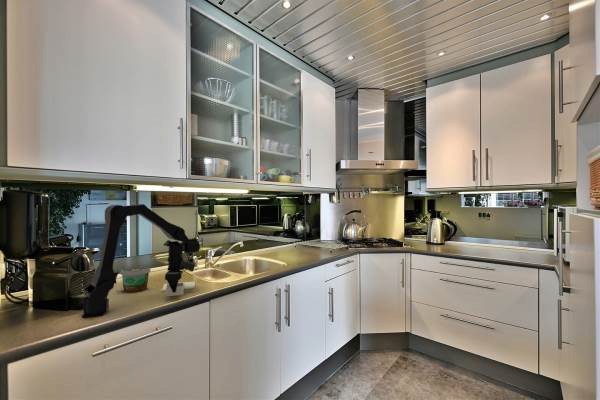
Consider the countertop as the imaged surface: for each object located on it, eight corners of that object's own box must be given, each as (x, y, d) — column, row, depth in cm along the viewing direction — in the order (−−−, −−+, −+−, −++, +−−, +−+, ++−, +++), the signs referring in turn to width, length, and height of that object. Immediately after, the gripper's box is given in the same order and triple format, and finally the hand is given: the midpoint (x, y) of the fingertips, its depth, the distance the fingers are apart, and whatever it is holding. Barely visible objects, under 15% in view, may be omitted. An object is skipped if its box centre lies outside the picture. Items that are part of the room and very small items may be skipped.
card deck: (183, 295, 121) (183, 285, 121) (165, 297, 118) (166, 287, 118) (183, 291, 126) (183, 282, 126) (166, 293, 123) (166, 284, 123)
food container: (115, 294, 120) (115, 271, 120) (120, 290, 126) (120, 268, 126) (146, 292, 123) (147, 270, 123) (150, 288, 129) (150, 267, 129)
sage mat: (161, 291, 125) (161, 290, 125) (164, 285, 134) (164, 283, 134) (194, 288, 129) (194, 287, 129) (195, 282, 139) (195, 281, 139)
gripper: (194, 258, 116) (193, 295, 116) (195, 250, 134) (194, 282, 134) (165, 259, 112) (164, 298, 112) (170, 251, 130) (169, 284, 130)
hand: (174, 290), depth 122 cm, fingers open, 5 cm apart
